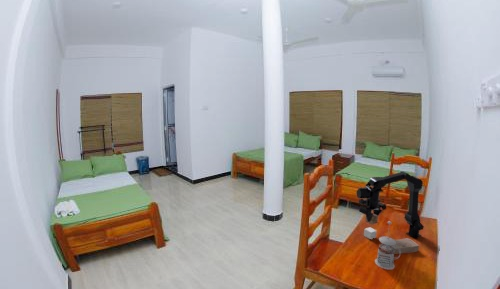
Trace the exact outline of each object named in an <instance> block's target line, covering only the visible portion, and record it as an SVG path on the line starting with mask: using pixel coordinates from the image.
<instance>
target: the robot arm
mask: <svg viewBox="0 0 500 289" xmlns="http://www.w3.org/2000/svg"><path fill="white" fill-rule="evenodd" d="M403 180H405V181H406V183H407V188H408V190H409V194H408V195H409V196H408V198H409V199H408V200H409V201H408V211H407V212H404V217H403V218H404V219H405V221H406V223H407V224H408V225H409V227H408V232H406V233H405V234H406V235H407V236H409V237H412V238H413V239H418V238H420V237H422V235H421V234H420V231H421V230H424V228H425V226H424V225H423V224H422V223H421V218H420V215H419V213H418V212H419V196H420V195H419V193H420V191H421V189H422V188H423V184H424V182H423V180H422V179H420V178H418V177H416V176H414V175H410V174H409V173H408V172H406V171H399V172H397V173H393V174H389V175H385V176H374V177H373V176H372V177H370V179H369V181H367V183H366V184H365V185H364V187H363V186H362V187H361V186H359V187H358V189H357V190H356V197H357V198H358V203H359V204H360V206H361V207H359V208H358V211H359V213H362V214H363V215H365V218H366V217H367V221H368V222H370V220H371V218H372V215H373V214H375V215H378V217H379V216H380V215H381V213H382V212H383V211H384V210H385V211H386V210H387V205H386V204H385V203H383V202H381V200H380V194H381V193H382V192H384V190H383V189H382V188H384V187H385V186H387V185H389V184H392V183H396V182H401V181H403Z"/></svg>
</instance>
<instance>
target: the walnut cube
mask: <svg viewBox="0 0 500 289" xmlns="http://www.w3.org/2000/svg"><path fill="white" fill-rule="evenodd" d="M378 218H379V216H378V215H375V214H373V215H372V218H371V220H370V222H368V221H367V217H366V216H365V219H364V221H365V222H366V223H368V224H370V225H371V226H373V225H375V224H378Z"/></svg>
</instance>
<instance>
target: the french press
mask: <svg viewBox="0 0 500 289" xmlns="http://www.w3.org/2000/svg"><path fill="white" fill-rule="evenodd" d="M387 224H388V226H390V225H392V221H390V220H388V221H387ZM389 230H390V229H388V231H387V235H389V234H390V233H389V232H390V231H389ZM378 240H379V242H380V243H381V244H379V246H378V249H377V258H375V259H374V263H375V264H376V265H377V267H379V268H382V269H383V270H384V269H385V270H394V269H395V268H396V266H395V263H394V262H395V259H396V260H398V259H399V258H400V257H401V254H402V253H401V250H400V251H399V252H400V253H399V255H398V256H395V254H394V249H395V247H396V246H397V245H395V244H396V242H395V240H396V239H394V238H392V237H389V236H380V237H379V238H378ZM393 245H395V247H394V248H393V247H392V246H393ZM397 247H398V246H397ZM397 247H396V248H397ZM398 248H399V247H398ZM398 248H397V249H398ZM399 249H400V248H399ZM399 249H398V250H399ZM392 252H393V253H392Z"/></svg>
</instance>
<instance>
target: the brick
mask: <svg viewBox="0 0 500 289" xmlns="http://www.w3.org/2000/svg"><path fill="white" fill-rule="evenodd" d="M394 240H395V242H396V244H395V245H397V246H398V247H399V248H400V249H399V248H398V247H397V246H396V247H397V248H398V249H399V250H398V249H397V248H396V247H395V245H393V246H392V247H393V248H394V247H395V249H394V255H397V254H399V255H400V252H399V251H400V250H401V254H409V253H416V252H418V251H419V248H420V245H419V244H418V243H417V242H415V241H414V240H412V239H411V238H406V237H405V238H400V239H394ZM392 253H393V252H392ZM392 253H391V254H392Z"/></svg>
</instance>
